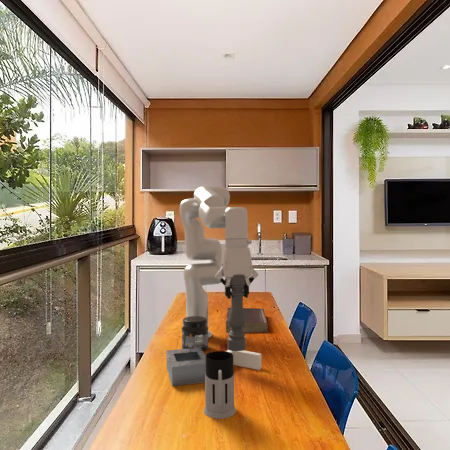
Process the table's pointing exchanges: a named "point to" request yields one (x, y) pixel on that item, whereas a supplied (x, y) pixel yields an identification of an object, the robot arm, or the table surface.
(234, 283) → the candle holder
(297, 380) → the table surface
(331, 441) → the table surface
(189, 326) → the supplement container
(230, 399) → the glass holder
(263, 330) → the hardback book
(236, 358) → the angle bracket
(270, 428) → the table surface
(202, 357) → the gray hollow block
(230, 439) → the table surface
